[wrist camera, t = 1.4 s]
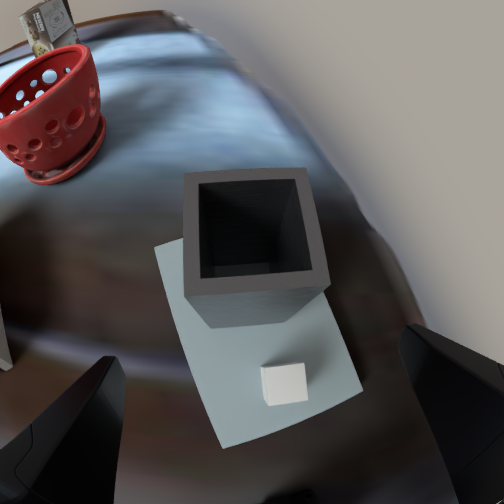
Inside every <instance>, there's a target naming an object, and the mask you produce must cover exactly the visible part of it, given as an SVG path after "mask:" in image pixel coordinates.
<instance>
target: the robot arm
mask: <svg viewBox="0 0 504 504" xmlns="http://www.w3.org/2000/svg"><path fill="white" fill-rule="evenodd" d="M398 351H399V354H400V356H401V359H402V361H403V364H404V367H405V369H406V372H407V375H408V378H409V380H410V383H411V385H412V388H413V390H414V392H415V394H416V396H417V399H418V401H419V403H420V405H421V407H422V409H423V412H424V414H425V416H426V418H427V421H428V423H429V425H430V427H431V430H432V432H433V434H434V437H435V439H436V442H437V444H438V446H439V449H440V451H441V454H442V456H443V459H444V462H445V464H446V467H447V469H448V472H449V475H450V478H451V481H452V484H453V487H454V489H455V492H456V495H457V498H458V502H459V504H496V503H498V502H499V501H501V500H502V501H501V502H500V503H499V504H504V365H502V364H500V363H497V362H496V361H494V360H491V359H489V358H487V357H485V356H483V355H481V354H479V353H477V352H475V351H473V350H471V349H469V348H467V347H464V346H463V345H460V344H458V343H456V342H454V341H452V340H450V339H448V338H445V337H444V336H442V335H440V334H438V333H435V332H433V331H431V330H429V329H427V328H425V327H423V326H421V325H419V324H416V323H413V324H409V325H406V326H405V327H404V328H403V331H402V334H401V337H400V340H399V343H398ZM125 388H126V376H125V373H124V371H123V369H122V367H121V365H120V362H119V360H118V358H117V357H115V356H103V357H102V358H101V359H99V360H98V361H97V362H96V363H95V364H94V365H93V366H92V367H91V368H90V369H88V370H87V371H86V372H85V373H84V374H83V375H82V376H81V377H80V378H79V379H77V380H76V381H75V382H74V383H73V384H72V385H71V386H70V387H69V388H68V389H67V390H65V391H64V392H63V393H62V394H61V395H60V396H59V397H58V398H57V399H56V400H55V401H54V402H53V403H51V404H50V405H49V406H48V407H47V408H46V409H45V410H44V411H43V412H42V413H41V414H40V415H39V416H38V417H37V418H35V419H34V420H33V421H32V424H31V423H30V424H29V425H28V426H27V427H26V428H25V429H24V430H23V431H22V432H21V433H19V434H18V435H17V436H16V437H15V438H14V439H13V440H12V441H10V442H9V443H8V444H7V445H5V446H4V447H3V448H2V449H0V504H114V491H115V481H116V471H117V463H118V455H119V448H120V441H121V435H122V428H123V419H124V402H125ZM309 493H310V495H309V496H306V494H309ZM264 504H319V502H318V500H317V498H316V496H315V493H314V492H313V491H312V490H311V489H307V490H304V491H302V492H299V493H296V494H294V495H291V496H285V497H283V498H280V499H277V500H274V501H271V502H267V503H264Z"/></svg>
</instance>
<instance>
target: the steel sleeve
mask: <svg viewBox="0 0 504 504" xmlns="http://www.w3.org/2000/svg"><path fill="white" fill-rule="evenodd" d="M255 263H269V270H270V274H261V275H248V276H234V277H220V278H216V275H215V266H228V265H242V264H255ZM183 283H184V297H185V299H186V300H187V301H188V302H189V304H190V305H191V306H192V307H193V308H194V310H195V311H196V312H197V313H198V314H199V316H200V317H201V318H202V319H203V320H204V322H205V323H206V324H207V325H208V326H209V327H210V329H216V328H230V327H243V326H255V325H265V324H275V323H284V322H285V321H287V320H288V319H289V318H290V317H292V316H293V315H294V314H296V313H297V312H298V311H299V310H301V309H302V308H303V307H304V306H305V305H307V304H308V303H309V302H310V301H312V300H313V299H314V298H315V297H316V296H318V295H319V294H320V293H321V292H323V291H324V290H325V289H326V288H327V287H328V286H330V285H331V282H330V277H329V271H328V266H327V260H326V255H325V250H324V245H323V240H322V235H321V230H320V226H319V221H318V216H317V212H316V207H315V203H314V199H313V195H312V190H311V186H310V182H309V178H308V174H307V170H306V168H260V169H237V170H220V171H206V172H194V173H184V200H183Z"/></svg>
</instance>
